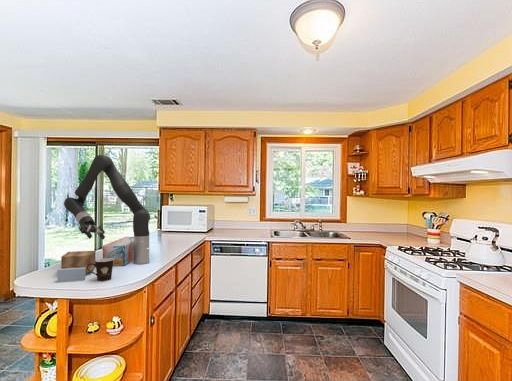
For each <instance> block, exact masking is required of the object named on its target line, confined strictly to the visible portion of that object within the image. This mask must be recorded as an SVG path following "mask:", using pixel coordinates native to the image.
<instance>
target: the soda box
mask: <svg viewBox="0 0 512 381" xmlns="http://www.w3.org/2000/svg"><path fill="white" fill-rule="evenodd" d="M103 258H112V259H114V261H113V267H125V266H126V265H128V264H129V263H131V262H134V236H124V237H122V238H119V239H116V240H114V241H112V242H109V243H106V244H104V245H102V259H103Z"/></svg>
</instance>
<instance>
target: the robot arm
mask: <svg viewBox="0 0 512 381" xmlns="http://www.w3.org/2000/svg"><path fill="white" fill-rule="evenodd" d="M101 172H103V173H104V174H105V175H106V177H107V178H108V180H109V182H110V186H111V188H112V189H113V191H114V193H115V195H116V196H117V197H118V198H119V200H120V201H121V202H123V203H124V205H125V206H127V207H128V208H129V210H130V211H131V213H132V214H133V216H132V230H133V237H134V260H133V264H135V265H144V264H150V230H149V222H150V220H151V215H150V213H149V211H148V210H147V209H146V208H145V207H144V205H143V204H142V203H141V202H140V200H139V199H138V197H137V196H136V193H135V192H134V191H133V189H132V187H131V186H130V184H128V182H127V181H126V179H125V178H124V177H123V175H122V174H121V173H120V172H119V170H118V169H117V167H116V165H115V163H114V161H113V160H112V158H111V157H110V156H108V155H104V154H98V155H96V156H95V157H94V158H93V159H92V161H91V164H90V167H89V168H88V170H87V172H86V174H85V175H84V177H83V179H82V180H81V182H80V183H79V185H78V186H77V188H76V189H75V191H74V195H75V196H77V198H75V197H71V196H70V197H67V198H65V199H64V201H63V206H64V208H65V209H66V210H67V211H68V212H69V213H70V214H72V215H73V216H74V218H75V220H76V222H77V223H78V225H79V226H78V227H77V229H79V232H80V233H81V234H82V235H83V234H84V235H86V237H87V238H88V239H92V238H93V234H94V235H98V236H99V237H100V239H101V240H104V239H105V238H106V236H105V233H106V231H105V230H104V229H103V227H102V226H100V225H99V226H96V225H95V224H96V222H95V220H94V218H92V216H91V215H90V213H89V212H88V211H87V210H86V209H85V208H84V205H85V202H86V200H87V199H86V198H87V196H88V195H89V193H90V192H91V190H92V189H93V187H94V184H95V182H96V179H97V178H98V176H99V175H100V174H101Z"/></svg>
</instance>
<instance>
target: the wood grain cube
mask: <svg viewBox="0 0 512 381" xmlns="http://www.w3.org/2000/svg"><path fill="white" fill-rule="evenodd" d="M60 258H61V262H60V265H61V266H60V267H61V268H60V269H66V268H83V267H85V272H89V271H88V270H87V265H89V264H91V263H93V264H95V260H96V250H79V251H77V250H76V251H68V252H66V253H65V254H63V255H62V256H61V257H60ZM95 268H96V267H95V266H94V265H89V266H88V269H89V270H90V271H92V272H93V270H94V269H95ZM89 273H90V272H89Z"/></svg>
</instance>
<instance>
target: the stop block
mask: <svg viewBox="0 0 512 381" xmlns="http://www.w3.org/2000/svg"><path fill="white" fill-rule="evenodd" d="M56 276H57V278H56V279H57V283H63V282H64V283H65V282H77V281H78V282H79V281H81V282H82V281H85V280H86V276H85V267H83V268H66V269H61V268H58V269H57V274H56Z"/></svg>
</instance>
